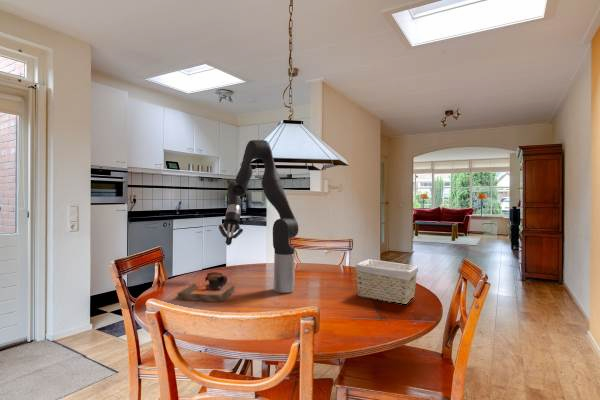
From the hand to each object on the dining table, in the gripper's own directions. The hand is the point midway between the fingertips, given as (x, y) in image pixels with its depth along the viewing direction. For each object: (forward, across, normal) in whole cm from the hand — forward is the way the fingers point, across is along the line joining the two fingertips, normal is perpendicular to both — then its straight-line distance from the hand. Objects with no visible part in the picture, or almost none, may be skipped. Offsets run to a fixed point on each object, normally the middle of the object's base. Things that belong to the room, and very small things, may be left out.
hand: (228, 244), depth 171 cm
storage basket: (+26, +70, -28) cm, 80 cm away
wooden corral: (+29, -6, -9) cm, 31 cm away
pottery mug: (+22, -2, +1) cm, 22 cm away
